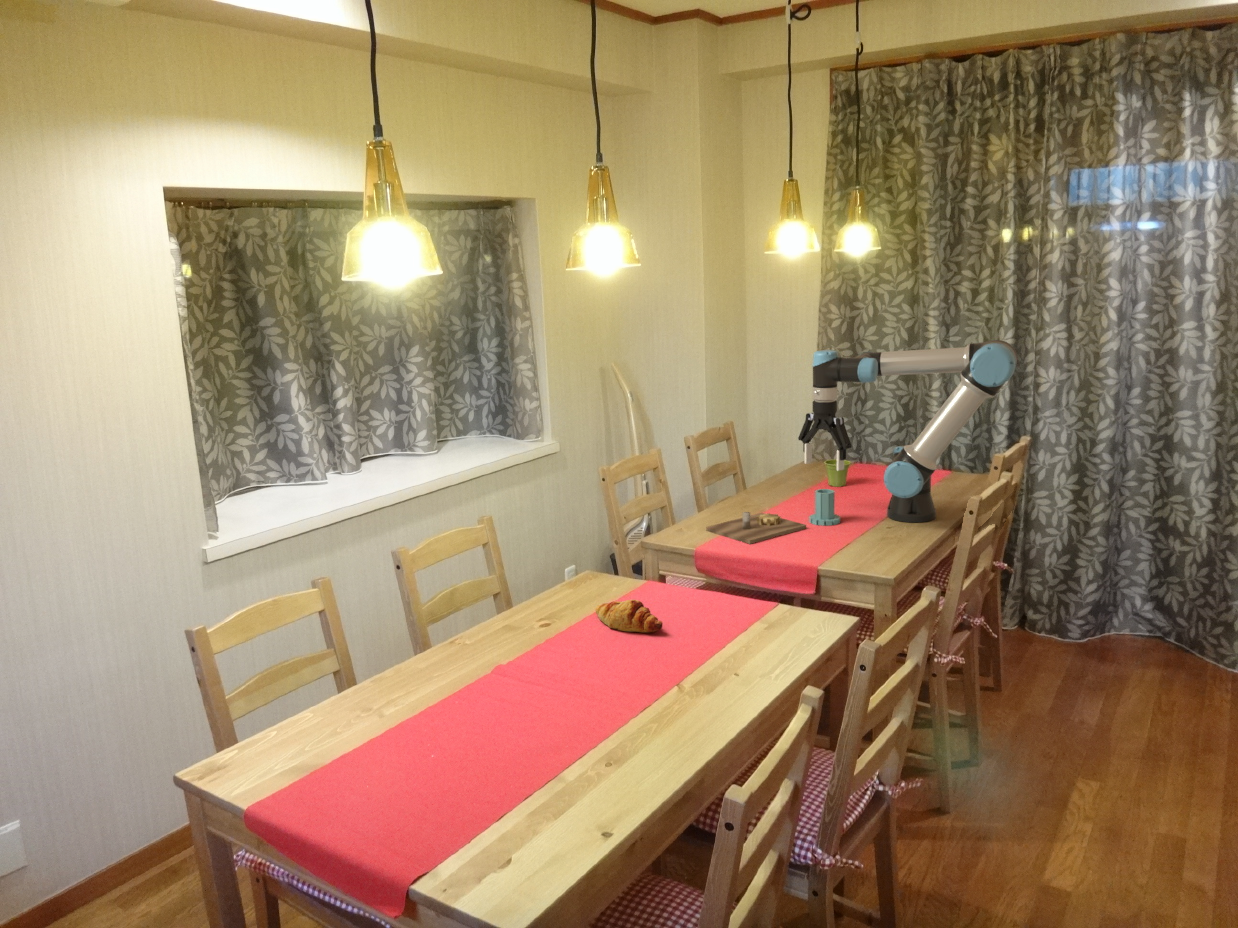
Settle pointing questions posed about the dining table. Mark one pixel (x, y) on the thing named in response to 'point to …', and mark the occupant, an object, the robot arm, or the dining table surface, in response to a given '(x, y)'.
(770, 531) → the carrier board
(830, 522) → the gear
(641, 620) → the croissant
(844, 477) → the plant pot
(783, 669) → the dining table surface
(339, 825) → the dining table surface
